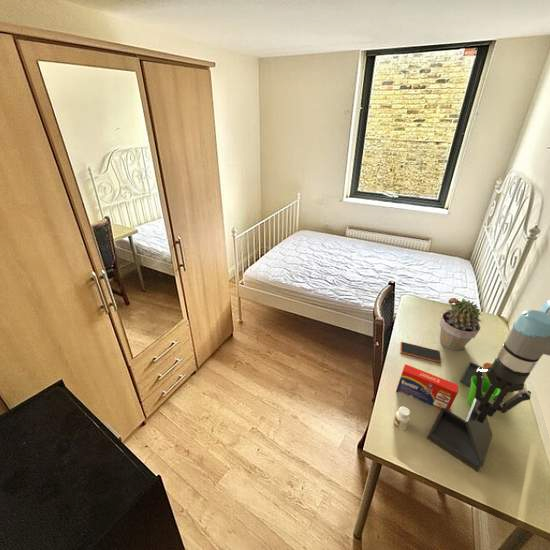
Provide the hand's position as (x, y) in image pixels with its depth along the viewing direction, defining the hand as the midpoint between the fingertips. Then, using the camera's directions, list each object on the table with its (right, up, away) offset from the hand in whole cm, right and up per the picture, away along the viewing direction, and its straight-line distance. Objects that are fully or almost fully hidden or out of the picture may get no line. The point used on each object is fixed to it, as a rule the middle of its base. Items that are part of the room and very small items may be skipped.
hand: (480, 418), depth 88 cm
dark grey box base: (-2, -11, +9) cm, 14 cm away
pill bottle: (-19, -9, +13) cm, 25 cm away
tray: (+22, 0, +30) cm, 37 cm away
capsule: (+22, 0, +29) cm, 37 cm away
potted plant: (+22, +11, +50) cm, 56 cm away
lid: (0, -4, +2) cm, 4 cm away
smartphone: (+3, +8, +44) cm, 45 cm away
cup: (+13, -5, +21) cm, 25 cm away
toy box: (-7, -4, +23) cm, 24 cm away
